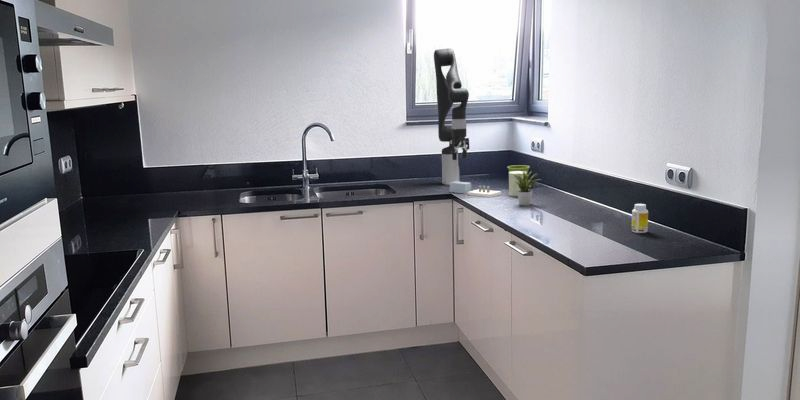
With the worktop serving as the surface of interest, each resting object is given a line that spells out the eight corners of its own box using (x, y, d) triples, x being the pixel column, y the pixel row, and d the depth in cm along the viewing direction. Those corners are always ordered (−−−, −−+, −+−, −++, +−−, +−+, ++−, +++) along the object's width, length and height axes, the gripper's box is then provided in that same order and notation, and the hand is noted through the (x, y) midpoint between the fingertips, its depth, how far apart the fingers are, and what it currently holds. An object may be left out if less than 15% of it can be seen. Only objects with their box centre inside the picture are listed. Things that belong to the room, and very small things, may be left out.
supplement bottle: (650, 231, 233) (650, 204, 232) (643, 234, 229) (644, 206, 228) (635, 229, 237) (636, 202, 235) (628, 232, 233) (629, 205, 231)
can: (530, 195, 315) (530, 171, 313) (515, 197, 312) (514, 173, 310) (520, 192, 324) (520, 169, 321) (505, 194, 320) (505, 171, 318)
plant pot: (502, 187, 341) (502, 167, 339) (516, 184, 348) (516, 164, 346) (520, 189, 332) (520, 168, 330) (534, 186, 340) (534, 166, 338)
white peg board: (478, 192, 330) (478, 183, 329) (501, 194, 321) (501, 185, 320) (467, 194, 323) (467, 186, 322) (490, 197, 314) (489, 188, 313)
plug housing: (455, 190, 337) (455, 181, 336) (471, 192, 330) (471, 182, 330) (449, 192, 333) (449, 182, 332) (465, 193, 327) (464, 184, 326)
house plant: (523, 209, 282) (523, 172, 279) (501, 204, 294) (501, 170, 291) (545, 204, 290) (545, 169, 287) (524, 200, 301) (524, 166, 298)
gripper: (461, 126, 333) (462, 157, 336) (444, 128, 323) (445, 160, 326) (473, 126, 328) (473, 157, 331) (456, 128, 318) (457, 160, 321)
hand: (459, 159), depth 329 cm, fingers open, 8 cm apart
